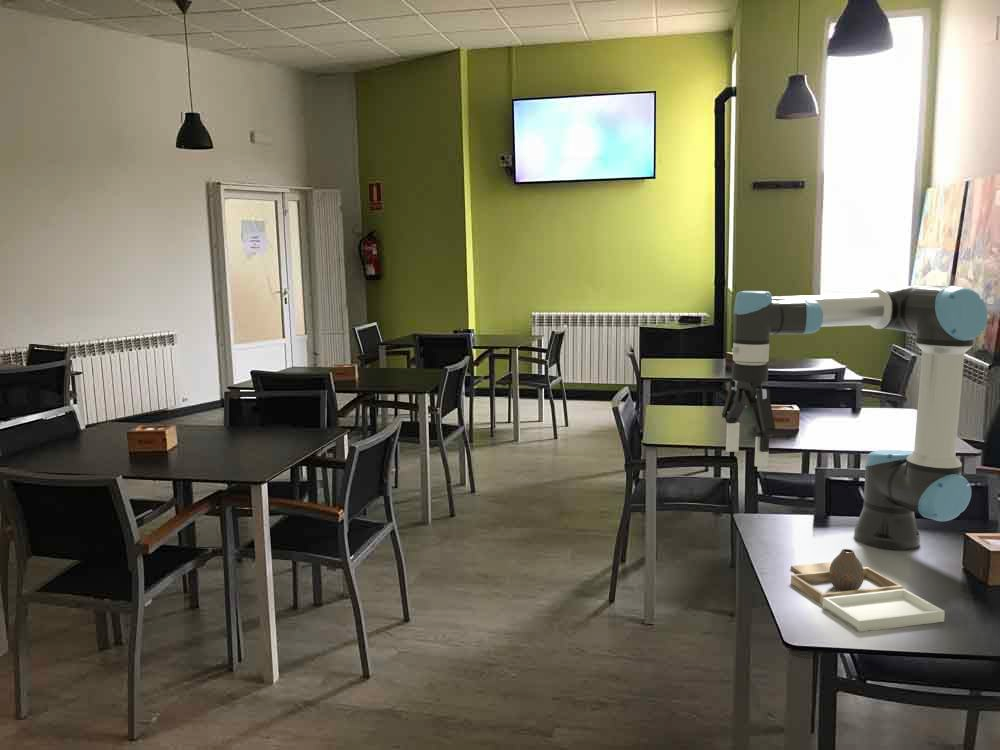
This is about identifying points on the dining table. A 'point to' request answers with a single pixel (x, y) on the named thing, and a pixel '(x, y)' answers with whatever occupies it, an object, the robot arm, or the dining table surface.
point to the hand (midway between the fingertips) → (746, 458)
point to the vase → (846, 571)
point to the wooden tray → (805, 578)
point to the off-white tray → (882, 610)
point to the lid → (811, 568)
